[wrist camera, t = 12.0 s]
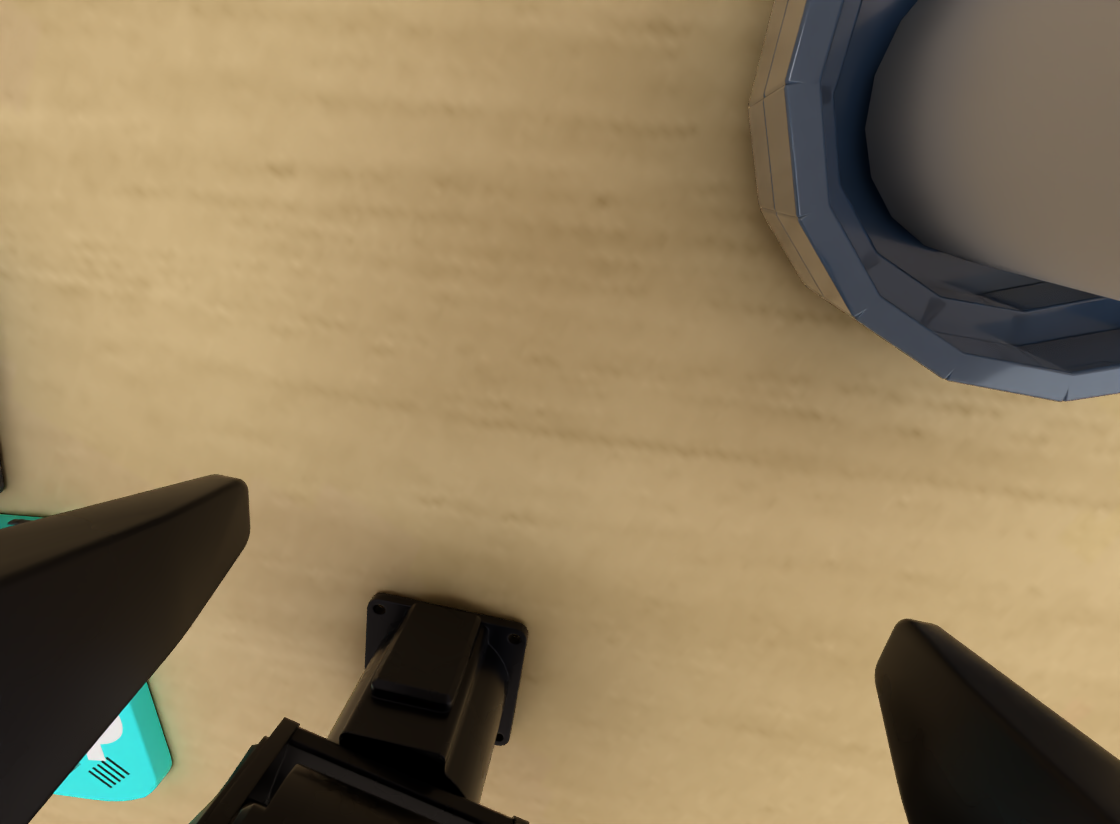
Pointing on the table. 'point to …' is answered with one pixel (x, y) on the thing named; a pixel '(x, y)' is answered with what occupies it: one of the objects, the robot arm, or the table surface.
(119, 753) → the handheld game console
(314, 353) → the table surface
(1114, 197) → the can
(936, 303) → the bowl
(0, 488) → the red and grey device
